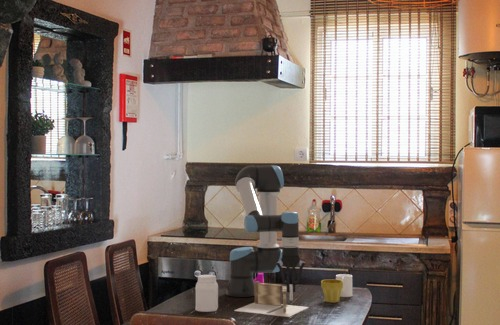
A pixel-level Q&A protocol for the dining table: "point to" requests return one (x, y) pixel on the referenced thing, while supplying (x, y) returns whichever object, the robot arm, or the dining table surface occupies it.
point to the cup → (345, 284)
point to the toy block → (259, 278)
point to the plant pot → (332, 289)
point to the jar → (206, 293)
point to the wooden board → (284, 298)
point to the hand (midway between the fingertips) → (291, 299)
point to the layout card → (271, 309)
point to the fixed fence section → (267, 293)
